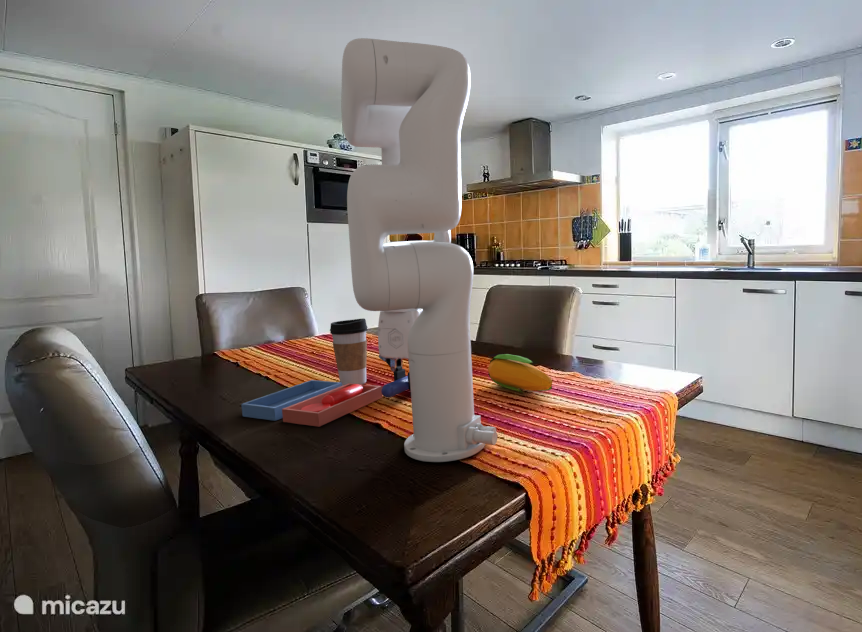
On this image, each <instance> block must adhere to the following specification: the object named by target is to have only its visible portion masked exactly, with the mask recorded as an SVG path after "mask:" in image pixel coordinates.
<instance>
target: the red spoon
mask: <svg viewBox="0 0 862 632" xmlns="http://www.w3.org/2000/svg"><path fill="white" fill-rule="evenodd" d="M362 393H363V387H362V386H361V385H360V384H353V385H351V386H348V387H346V388H343V389H341V390H338V391H336V392H333V393H331V394H328V395H326V396H324V397H323V399H322V402H321V403H317V404H311V405H307V406H305V407H303V408H302V409H301V410H304V411H312V412H319V411H322V410H324V409H326V408H329V407H331V406H334V405H336V404H338V403H341V402H343V401H345V400H348V399H350V398H352V397H355V396H357V395H359V394H362Z"/></svg>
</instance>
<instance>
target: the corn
mask: <svg viewBox="0 0 862 632" xmlns="http://www.w3.org/2000/svg"><path fill="white" fill-rule="evenodd" d="M487 371H488V373H487V374H488V377H489V378H490V380H491V381H492V382H493V383H495V384H497V385H498V386H500V387H502V388H505V389H508V390H511V391H515V392H518V393H523V394H525V392H524V391H531V392H534V391H538V392H543V391H544V392H546V391H550V390H552V389H553V379H552V377H551V376H550V375H548V374H547V373H546V372H544V371H542V370H541V369H539V368H538V367H537V366H534V364H533V361H532V360H531V359H529V358H528V357H524V356H521V355H517V354H516V355H515V354H509V353H504V354H503V353H502V354H497V355H495V356H494V357H493V358H491V359H490V360H489V365H488V367H487ZM522 390H523V391H522Z"/></svg>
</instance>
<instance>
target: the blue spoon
mask: <svg viewBox="0 0 862 632" xmlns="http://www.w3.org/2000/svg"><path fill="white" fill-rule="evenodd" d="M407 391H409V384H408V375H406V376H405V377H403V378H401V379H398V380H396V381H394V380H393V381H390V382H388V383H385V384H384V385H383V386H382V390H381V392H382V397H384V398H386V399H391V398H392V397H395V396H397V395H400V394H402V393H404V392H407Z"/></svg>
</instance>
